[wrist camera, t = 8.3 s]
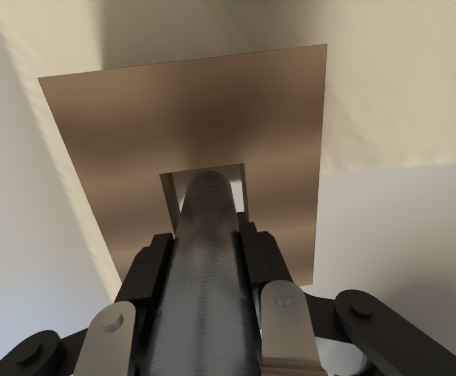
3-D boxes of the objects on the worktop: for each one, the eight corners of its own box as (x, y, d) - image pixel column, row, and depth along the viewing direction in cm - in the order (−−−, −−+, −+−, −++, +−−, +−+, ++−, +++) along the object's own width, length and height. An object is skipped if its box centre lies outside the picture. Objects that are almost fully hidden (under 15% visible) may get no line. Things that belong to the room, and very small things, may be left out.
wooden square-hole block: (102, 82, 17) (37, 77, 11) (284, 60, 17) (327, 43, 11) (154, 249, 23) (132, 308, 17) (285, 232, 24) (312, 284, 17)
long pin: (183, 173, 15) (-38, 816, 2) (228, 167, 16) (358, 748, 2) (191, 213, 17) (101, 760, 3) (233, 207, 17) (329, 722, 3)
